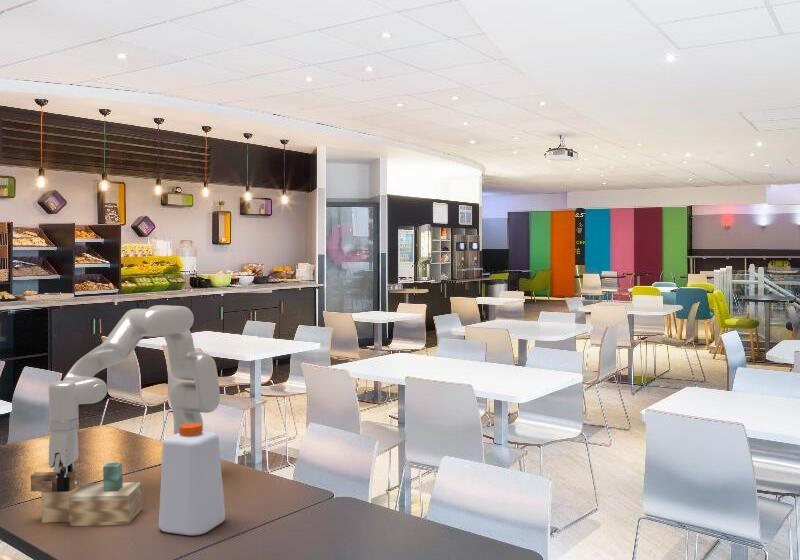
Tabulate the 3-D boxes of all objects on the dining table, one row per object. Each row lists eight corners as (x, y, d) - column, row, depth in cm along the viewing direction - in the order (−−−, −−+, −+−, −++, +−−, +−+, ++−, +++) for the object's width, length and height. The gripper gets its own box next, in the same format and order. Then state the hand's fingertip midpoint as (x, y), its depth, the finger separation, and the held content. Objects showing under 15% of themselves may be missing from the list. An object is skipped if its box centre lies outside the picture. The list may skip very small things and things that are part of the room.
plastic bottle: (231, 519, 209) (229, 420, 208) (200, 538, 194) (198, 433, 193) (185, 513, 213) (183, 417, 213) (152, 532, 199) (149, 429, 198)
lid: (141, 492, 217) (140, 458, 216) (128, 506, 205) (127, 470, 204) (85, 493, 216) (84, 459, 216) (69, 507, 204) (68, 471, 204)
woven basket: (141, 509, 217) (140, 471, 217) (128, 524, 205) (127, 483, 205) (54, 512, 216) (53, 473, 215) (36, 527, 204) (35, 485, 203)
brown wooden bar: (75, 487, 211) (74, 471, 211) (70, 490, 208) (70, 474, 208) (35, 488, 211) (35, 472, 211) (31, 491, 208) (30, 475, 208)
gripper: (62, 418, 217) (63, 480, 218) (38, 432, 201) (39, 499, 201) (88, 418, 217) (89, 480, 218) (66, 431, 201) (67, 498, 202)
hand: (65, 488), depth 210 cm, fingers closed on brown wooden bar, 3 cm apart
